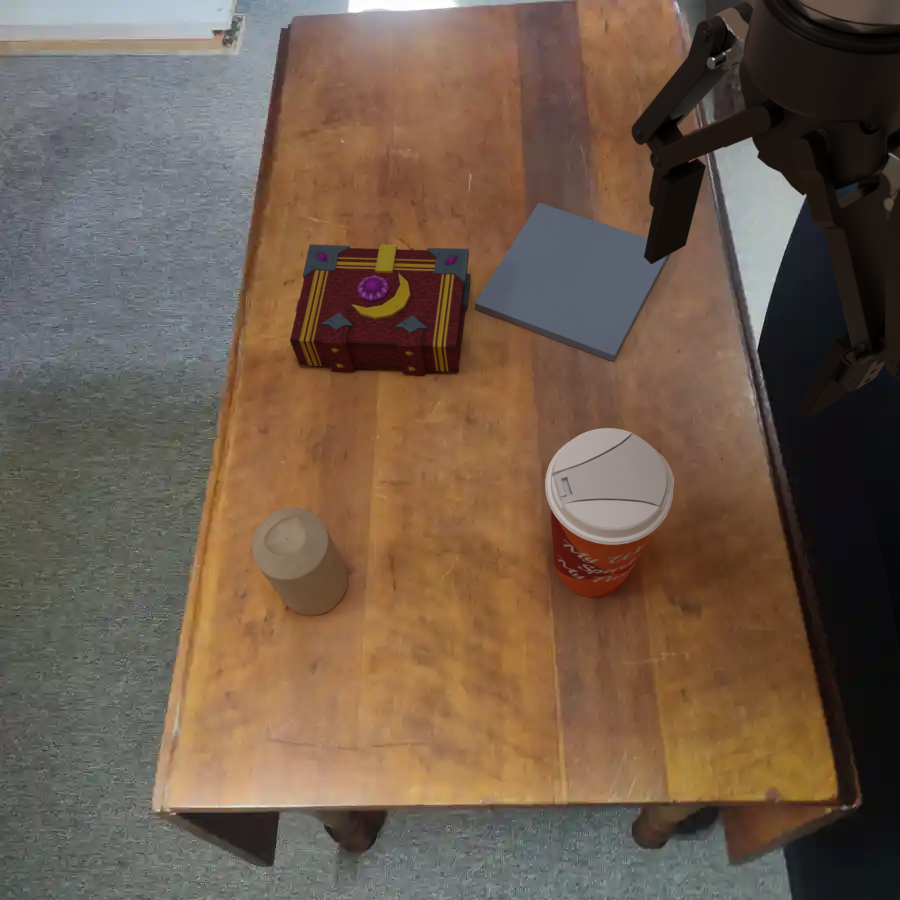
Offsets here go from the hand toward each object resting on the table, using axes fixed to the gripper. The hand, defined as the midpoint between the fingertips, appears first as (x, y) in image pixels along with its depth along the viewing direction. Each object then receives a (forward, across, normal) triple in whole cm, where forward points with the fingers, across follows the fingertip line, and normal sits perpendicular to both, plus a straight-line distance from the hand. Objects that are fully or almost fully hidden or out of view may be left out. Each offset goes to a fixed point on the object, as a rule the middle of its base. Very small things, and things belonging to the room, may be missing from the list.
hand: (737, 323), depth 50 cm
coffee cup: (+22, -2, +10) cm, 24 cm away
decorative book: (+22, +29, +12) cm, 38 cm away
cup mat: (+22, +22, -6) cm, 32 cm away
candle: (+22, +9, +29) cm, 38 cm away
